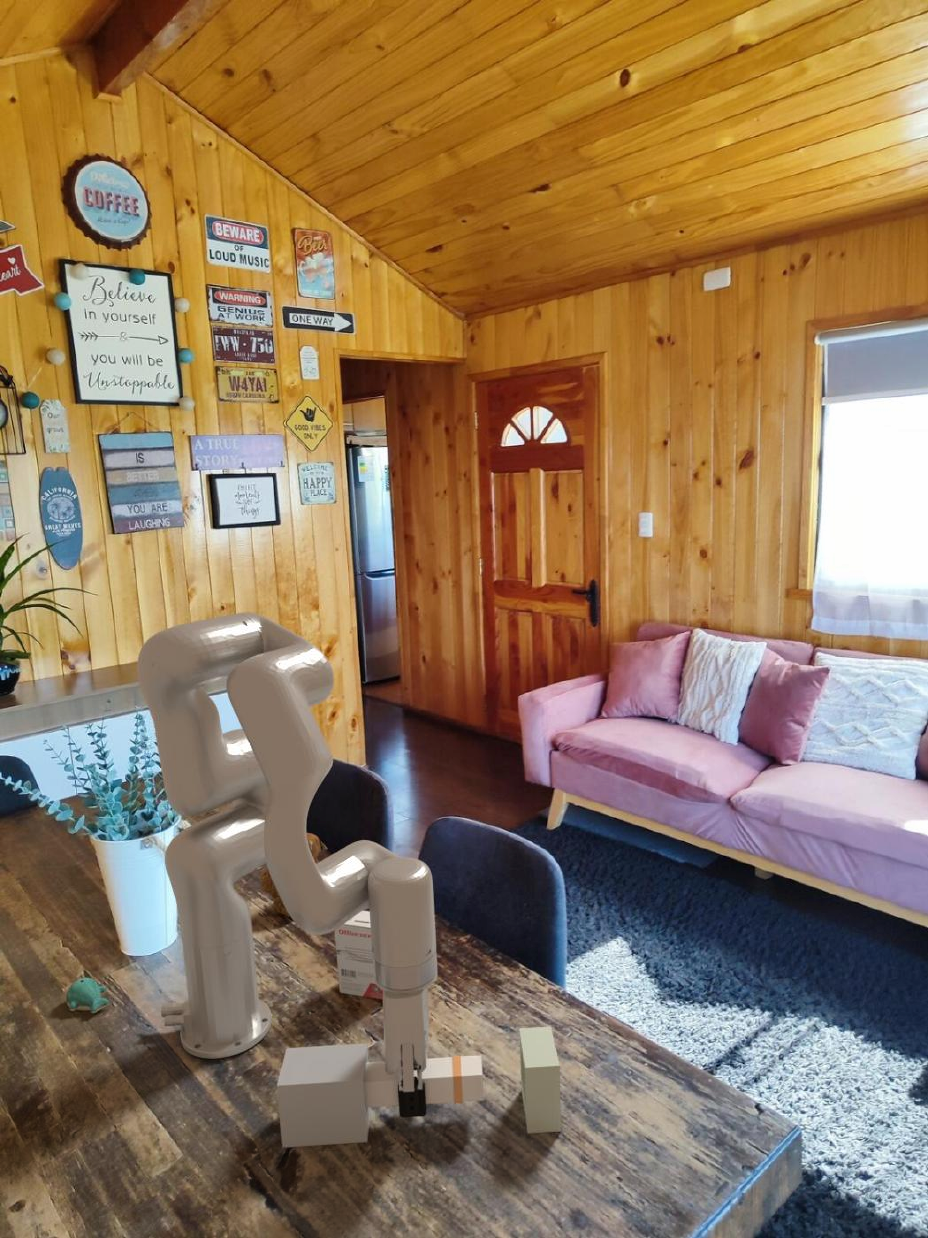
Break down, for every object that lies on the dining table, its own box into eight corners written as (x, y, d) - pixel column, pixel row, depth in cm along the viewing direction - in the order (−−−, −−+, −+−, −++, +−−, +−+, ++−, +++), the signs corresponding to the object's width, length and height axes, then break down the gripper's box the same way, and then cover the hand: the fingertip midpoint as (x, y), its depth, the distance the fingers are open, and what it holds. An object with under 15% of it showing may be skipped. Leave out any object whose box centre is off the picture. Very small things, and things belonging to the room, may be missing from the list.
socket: (527, 1133, 97) (525, 1068, 96) (521, 1090, 104) (519, 1028, 103) (561, 1131, 97) (559, 1065, 96) (552, 1088, 104) (551, 1026, 103)
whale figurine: (95, 988, 130) (92, 966, 130) (120, 1005, 126) (117, 982, 125) (58, 1008, 126) (55, 985, 125) (83, 1025, 121) (80, 1002, 121)
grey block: (282, 1147, 97) (276, 1086, 95) (291, 1107, 103) (286, 1048, 102) (367, 1142, 97) (362, 1080, 96) (371, 1102, 103) (367, 1043, 102)
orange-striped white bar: (282, 1114, 98) (280, 1087, 97) (287, 1092, 101) (285, 1066, 101) (483, 1101, 98) (482, 1075, 98) (482, 1080, 102) (480, 1054, 101)
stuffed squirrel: (348, 896, 156) (343, 831, 153) (292, 931, 144) (286, 861, 142) (310, 883, 161) (305, 820, 159) (254, 916, 150) (248, 848, 148)
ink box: (402, 983, 128) (397, 913, 126) (389, 1002, 123) (384, 930, 121) (352, 974, 130) (347, 906, 129) (337, 993, 126) (332, 922, 124)
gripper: (378, 928, 105) (386, 1057, 108) (367, 1010, 89) (378, 1159, 92) (436, 925, 105) (443, 1053, 108) (437, 1006, 89) (445, 1155, 92)
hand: (413, 1100), depth 100 cm, fingers closed on orange-striped white bar, 3 cm apart
